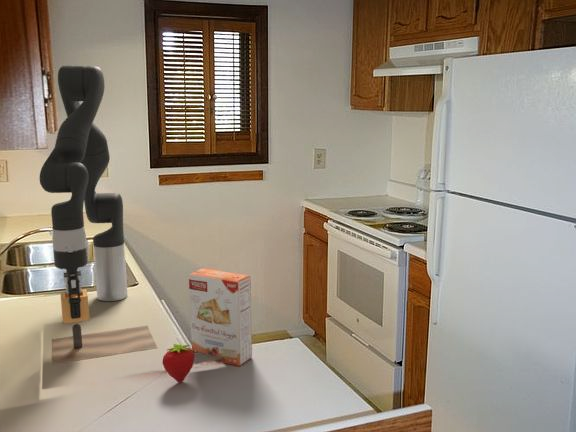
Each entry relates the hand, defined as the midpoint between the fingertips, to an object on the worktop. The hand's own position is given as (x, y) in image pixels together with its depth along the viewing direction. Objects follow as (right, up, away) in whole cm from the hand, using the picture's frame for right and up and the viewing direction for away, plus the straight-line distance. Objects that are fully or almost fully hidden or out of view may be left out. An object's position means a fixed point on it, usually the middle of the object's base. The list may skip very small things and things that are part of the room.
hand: (75, 313), depth 144 cm
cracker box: (+36, -11, -1) cm, 37 cm away
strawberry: (+28, -13, -14) cm, 34 cm away
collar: (0, -1, 0) cm, 1 cm away
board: (+6, -10, +4) cm, 12 cm away
